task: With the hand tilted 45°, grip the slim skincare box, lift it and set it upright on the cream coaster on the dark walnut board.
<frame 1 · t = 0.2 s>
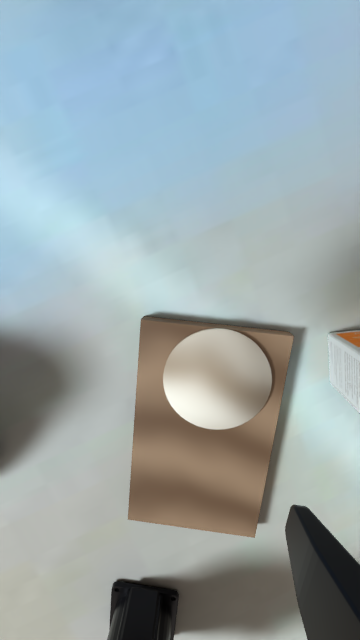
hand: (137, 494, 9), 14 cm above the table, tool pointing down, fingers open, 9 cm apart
walnut board: (202, 428, 24), on the table
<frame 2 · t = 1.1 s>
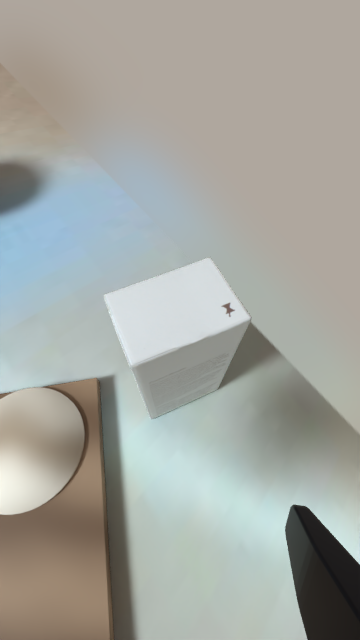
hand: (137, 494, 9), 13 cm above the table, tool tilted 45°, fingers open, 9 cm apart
skincare box: (173, 382, 24), on the table
walnut board: (21, 531, 19), on the table
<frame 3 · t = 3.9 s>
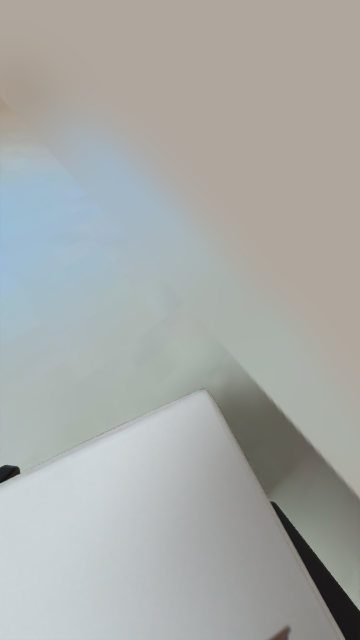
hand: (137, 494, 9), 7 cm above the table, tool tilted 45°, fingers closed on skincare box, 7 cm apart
skincare box: (144, 523, 14), on the table, touching gripper
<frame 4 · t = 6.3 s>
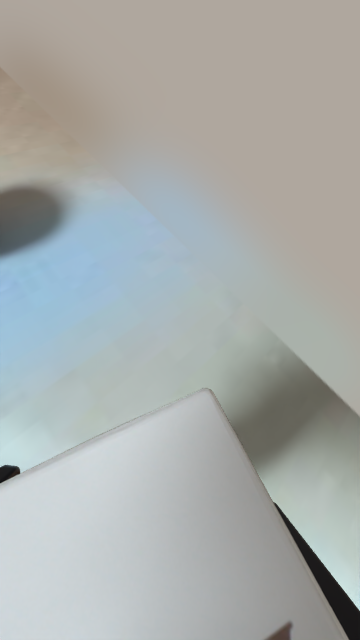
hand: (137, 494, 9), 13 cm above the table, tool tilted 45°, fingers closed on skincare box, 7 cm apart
skincare box: (144, 522, 14), point 6 cm above the table, touching gripper
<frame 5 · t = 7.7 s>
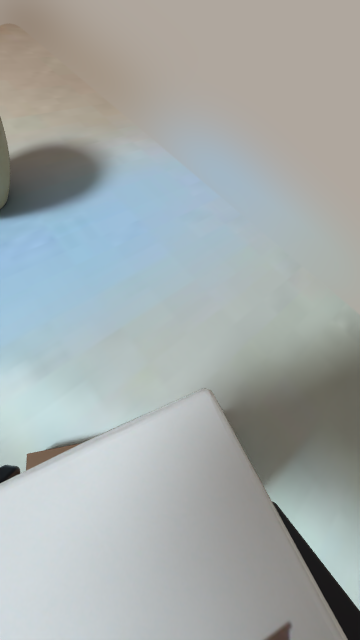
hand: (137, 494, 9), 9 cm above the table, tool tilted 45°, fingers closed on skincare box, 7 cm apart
skincare box: (143, 522, 14), point 2 cm above the table, touching gripper
when the fingers open (8 cm above the table, at t = 8.8 s): skincare box stays where it is, resting on walnut board.
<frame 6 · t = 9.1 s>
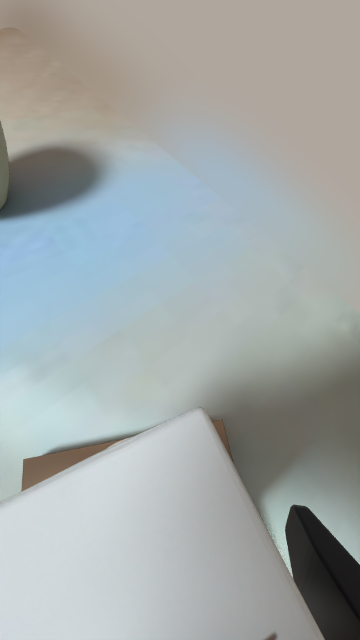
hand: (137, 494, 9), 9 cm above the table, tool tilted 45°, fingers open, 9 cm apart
skincare box: (144, 527, 14), point 1 cm above the table, touching walnut board
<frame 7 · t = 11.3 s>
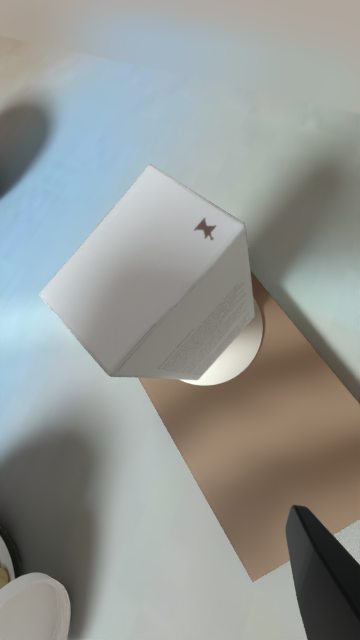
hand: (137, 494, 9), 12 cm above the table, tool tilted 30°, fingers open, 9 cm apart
skincare box: (203, 330, 20), point 1 cm above the table, touching walnut board
spread jar: (8, 580, 22), on the table
walnut board: (240, 392, 20), on the table
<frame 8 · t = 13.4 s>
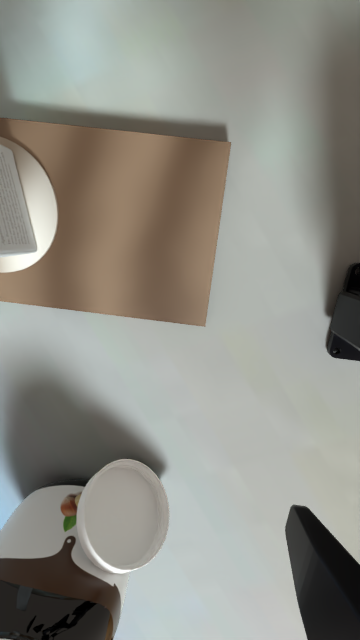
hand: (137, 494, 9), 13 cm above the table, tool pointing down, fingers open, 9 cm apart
spread jar: (99, 495, 25), on the table
walnut board: (81, 226, 19), on the table
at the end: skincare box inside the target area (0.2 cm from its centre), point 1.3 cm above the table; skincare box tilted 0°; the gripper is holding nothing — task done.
